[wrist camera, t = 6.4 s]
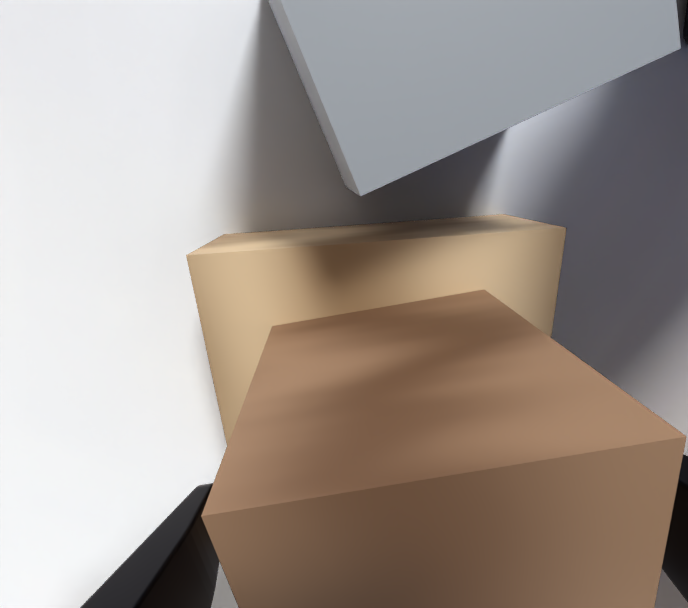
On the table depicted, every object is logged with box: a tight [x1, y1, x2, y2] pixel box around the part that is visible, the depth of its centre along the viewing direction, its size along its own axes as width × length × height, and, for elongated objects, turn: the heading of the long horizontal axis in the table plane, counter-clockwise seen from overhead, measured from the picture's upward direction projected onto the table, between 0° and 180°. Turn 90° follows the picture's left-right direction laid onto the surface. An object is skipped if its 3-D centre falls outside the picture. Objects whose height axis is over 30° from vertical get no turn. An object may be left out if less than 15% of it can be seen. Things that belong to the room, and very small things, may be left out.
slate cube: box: [268, 0, 681, 196], centre depth 8 cm, size 6×6×6 cm
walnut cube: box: [201, 289, 687, 608], centre depth 8 cm, size 6×6×6 cm
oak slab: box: [186, 214, 566, 446], centre depth 13 cm, size 10×10×4 cm
